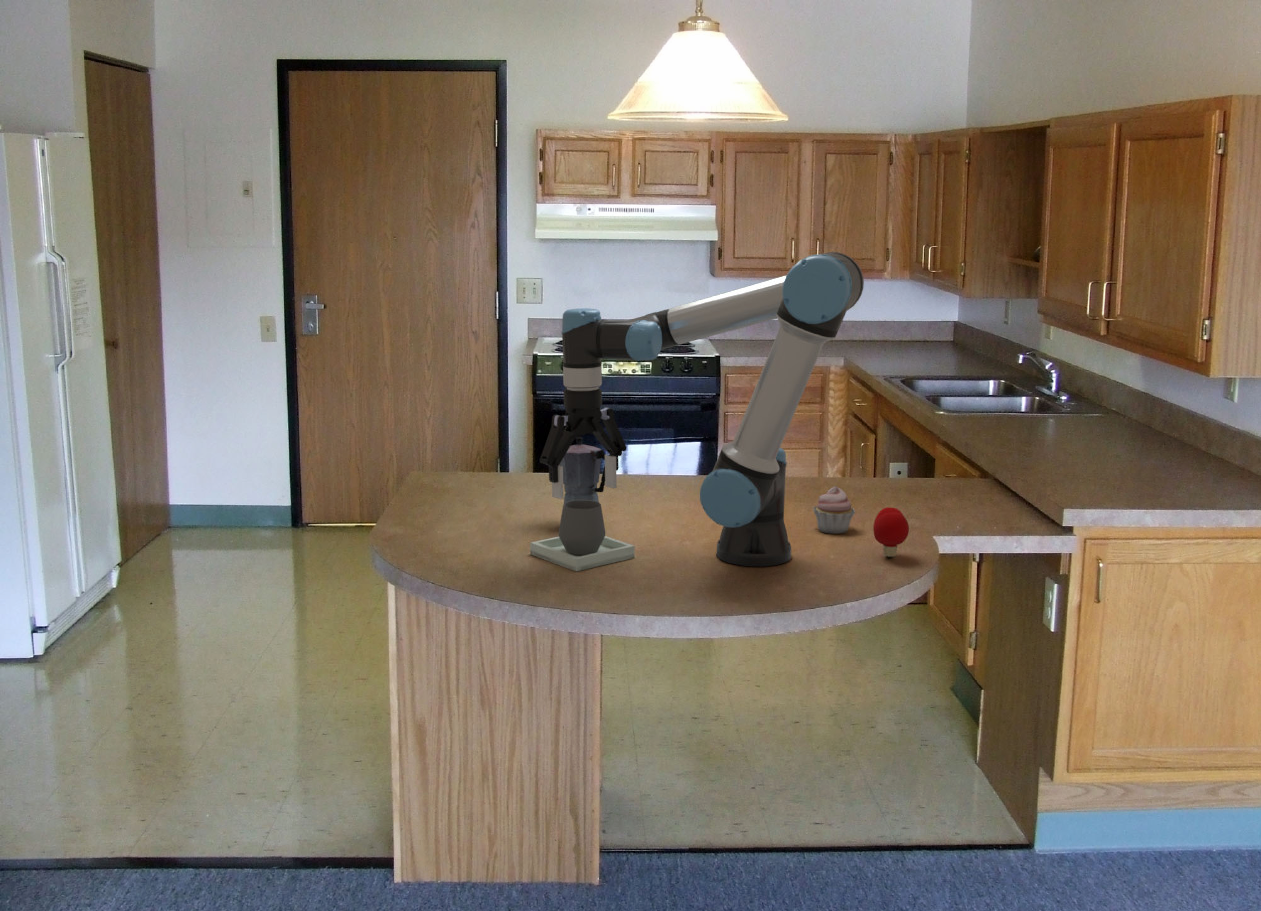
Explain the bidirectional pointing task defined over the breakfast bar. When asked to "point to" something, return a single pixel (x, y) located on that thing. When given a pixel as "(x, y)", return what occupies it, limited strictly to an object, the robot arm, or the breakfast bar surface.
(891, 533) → the light bulb
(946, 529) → the breakfast bar surface
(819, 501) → the cupcake
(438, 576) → the breakfast bar surface
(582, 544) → the cup
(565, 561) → the tray
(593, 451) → the moka pot
